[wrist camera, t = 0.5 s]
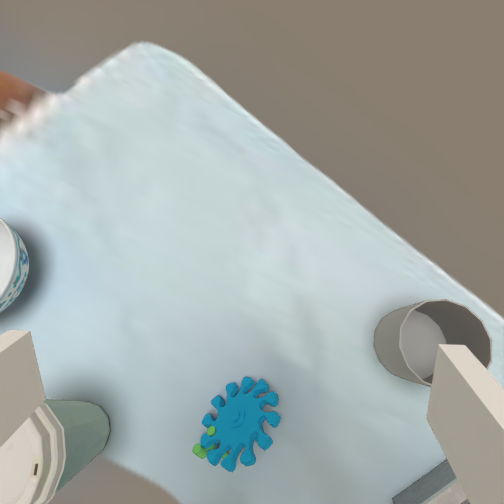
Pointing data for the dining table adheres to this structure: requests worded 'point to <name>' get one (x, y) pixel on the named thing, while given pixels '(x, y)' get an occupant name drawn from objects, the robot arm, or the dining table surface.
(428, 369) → the cup
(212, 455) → the gear
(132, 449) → the dining table surface
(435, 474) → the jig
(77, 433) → the disposable coffee cup
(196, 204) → the dining table surface
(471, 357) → the robot arm
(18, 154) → the dining table surface
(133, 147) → the dining table surface
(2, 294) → the chinaware
